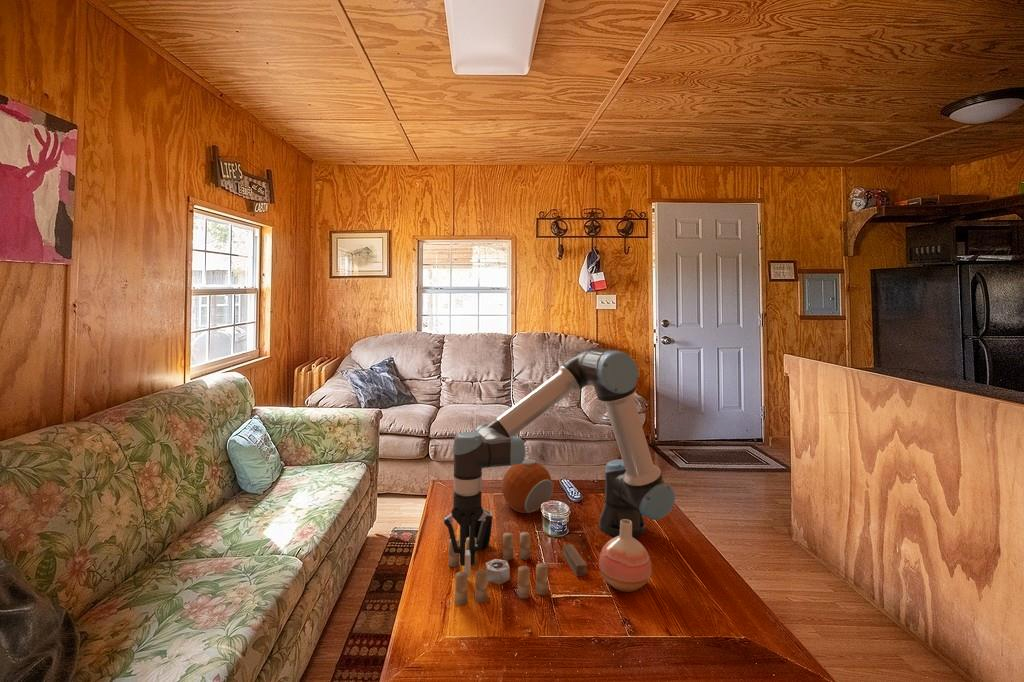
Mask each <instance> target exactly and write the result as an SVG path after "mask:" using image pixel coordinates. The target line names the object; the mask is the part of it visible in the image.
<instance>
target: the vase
mask: <svg viewBox="0 0 1024 682" xmlns="http://www.w3.org/2000/svg"><path fill="white" fill-rule="evenodd" d="M598 559H599V560H598V565H599V567H598V568H599V571H600V573H601V576H602V577H603V578H604V580H605V581H606V582H607V583H608V584H609V585H610V586H612V587H613V588H614V589H615V590H618V591H619V592H623V593H624V592H625V593H631V592H635V591H636V590H639V589H640V588H642V587H643V586H644V585H646V584H647V583H648V581H649V580H650V577H651V574H652V561H651V557H650V555H649V552H648V551H647V549H646V547H645V546H644V545H643V544H642V543H641V542H640V541H639V540H637V539H636V537H634V538H633V537H632V521H630V520H628V519H622V520H621V521H620V535H619V536H617V537H615V536H613V538H611V539H609V540H608V541H607V542H606V543H605V544H604V546H603V547H602V549H601V551H600V554H599V558H598Z"/></svg>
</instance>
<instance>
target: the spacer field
mask: <svg viewBox="0 0 1024 682" xmlns="http://www.w3.org/2000/svg"><path fill="white" fill-rule="evenodd" d="M455 538H456V537H455ZM456 542H457V546H459V547H460V538H456ZM476 542H477V539H476V538H475V545H476ZM465 550H469V537H468V538H466V542H465ZM530 550H531V533H530V532H528V531H522V532H520V533H519V558H520V559H521V560H523V561H525V560H530V556H531V555H530V554H531V551H530ZM513 559H514V534H513V533H512V532H504V533H503V534H502V560H506V561H511V560H513ZM476 564H477V551H476V552H475V560H474V565H473V566H475V565H476ZM459 565H460V554H459V553H454V550H453V546H452V542H451V538H450V539H448V566H449V567H451V568H457V567H458V566H459ZM535 566H536V567H535V593H536V595H539V596H546V595H547V594H548V579H549V578H548V575H549V574H548V573H549V565H548V564H547V563H544V562H539V563H537V564H535ZM530 571H531V568H530V567H528V566H527V565H520V566H518V567H517V597H518V598H520V599H522V600H525V599H528V598H529V597H530V580H531V579H530V578H531V577H530V576H531V575H530ZM474 574H475V575H474V578H475V579H474V580H475V581H474V595H475V596H474V601H475V602H476V603H479V604H483V603H485V602H487V600H488V581H487V571H486V569H477V570H476V571H475V573H474ZM454 576H455V578H454V580H455V585H454V587H455V588H454V589H455V590H454V592H455V593H454V594H455V596H454V597H455V600H454V602H455V605H457V606H465V605H466V604H468V579H467V573H466V572H464V571H458V572H456V573H455V574H454Z"/></svg>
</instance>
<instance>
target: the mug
mask: <svg viewBox="0 0 1024 682" xmlns="http://www.w3.org/2000/svg"><path fill="white" fill-rule="evenodd" d="M483 511H484V512H486V513H487V512H488V513H490V516H491V520H490V522H489V523H488V525H487V529H486V533H485V537H484V541H483V545H482V549H481V551H483V550H485V549H486V548H488V546H489V544H490V539H491V535H492V528H493V527H492V525H493V513H492V511H490V509H486V508H483ZM481 517H482V516H481ZM481 517H480V519H479V520H478V521H477V523H476V524H475V538H476V539H477V538H478V534H479V529H480V525H481V522H482V518H481ZM468 537H469V526H466V530H465V543H466V538H468Z"/></svg>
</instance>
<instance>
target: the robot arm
mask: <svg viewBox="0 0 1024 682" xmlns="http://www.w3.org/2000/svg"><path fill="white" fill-rule="evenodd" d="M639 372H640V371H639V368H638V364H637V362H636V361H635V360H634V358H633V357H631V356H630V354H628V353H625V352H622V351H620V350H618V349H617V350H616V349H608V348H607V349H605V348H600V347H590V348H586V349H584V350H582V351H580V352H578V353H577V354H575V355H573V356H572V357H571V358H569V359H568V360H567V361H565V362H563V364H561V365H560V366H559V367H558V371H557V372H555V374H554V375H552V376H551V377H550V378H548V379H547V380H546V381H544V382H542V383H541V384H540V385H538V387H536V388H535V389H534V390H532V391H531V392H530V393H528V394H527V395H526V396H525V397H522V399H520V400H519V401H518V402H517V403H514V405H512V406H511V407H509V408H508V409H507V410H506V411H504V412H503V413H502V414H501V415H499V416H498V417H497V418H495V419H494V420H492V421H491V422H490V423H483V424H480V425H478V426H477V427H476V428H475V429H474V431H463V432H459V433H457V434H456V435H455V436H454V440H453V450H452V453H453V496H452V497H453V498H452V499H453V501H452V502H453V508H452V509H451V512H450V514H448V515H444V516H443V522H444V525H445V526H446V528H447V530H448V533H449V537H450V539H451V542H452V546H453V550H454V553H459V565H460V566H461V567H463V572H466V573H467V580H470V579H471V569H472V568H471V566H475V565H474V560H475V552H476V553H477V552H481V551H482V550H481V549H482V545H483V541H484V537H485V533H486V529H487V525H488V523H489V522H490V520H491V516H490V513H488V512H487V513H486V512H484V511H483V509H484V508H483V506H482V503H483V502H482V495H483V493H482V489H483V485H482V484H483V479H482V475H483V471H482V470H483V469H487V468H495V467H496V468H497V467H498V468H499V467H507V466H509V467H510V466H512V465H516V464H521V463H522V462H523V461H524V459H526V453H527V452H526V445H525V442H524V440H523V438H522V437H520V436H516V435H518V434H519V433H520V432H522V431H523V430H524V429H526V428H527V427H528V426H529V425H531V424H532V423H533V422H534V421H536V420H537V419H538V418H540V417H541V416H542V415H544V414H545V413H546V412H547V411H548V410H550V409H552V408H553V407H554V406H556V404H558V403H560V401H562V400H563V399H564V398H566V397H567V396H568V395H570V394H571V393H572V392H579V391H581V390H582V389H583V388H584V387H588V386H593V388H594V391H595V394H596V397H597V400H598V401H599V402H601V403H603V404H604V406H605V408H606V412H607V415H608V418H609V421H610V424H611V425H610V426H611V428H612V431H613V434H614V437H615V441H616V444H617V447H618V450H619V453H620V456H621V459H619V458H618V459H613V460H609V461H608V462H607V463H606V465H605V470H604V474H605V479H604V481H605V483H604V484H605V485H604V491H605V492H604V505H603V508H602V511H601V512H600V516H599V519H598V526H599V529H600V530H601V531H602V532H603V533H605V534H607V535H609V536H612V537H617V536H619V535H620V521H621V520H622V519H628V520H630V521H632V537H633V538H638V537H641V536H642V535H643V534H644V533H645V530H646V523H645V520H644V517H645V518H648V519H649V520H653V521H659V520H661V519H663V518H665V517H666V516H667V515H668V514H669V513H670V512H671V511H672V508H673V507H674V505H675V501H676V493H675V490H674V488H672V487H673V486H672V487H671V485H670V484H668V483H666V482H665V480H664V478H663V474H662V471H661V468H660V467H659V466H658V465H655V464H654V462H653V458H652V455H651V451H650V448H649V445H648V442H647V438H646V434H645V432H644V431H645V430H644V428H643V424H642V421H641V419H640V415H639V412H638V408H637V405H636V402H635V401H636V400H635V398H634V395H635V393H636V391H637V386H636V385H637V383H638V379H639V377H640V376H639ZM481 516H482V517H481ZM480 517H481V518H482V522H481V525H480V529H479V534H478V538H477V542H476V545H475V524H476V523H477V521H478V520H479V519H480ZM453 519H454V520H455V521H456V523H457V524H458V525H459V546H457V542H456V535H455V530H454V527H453V522H454V520H453ZM466 526H469V550H466V542H465V530H466Z"/></svg>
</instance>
